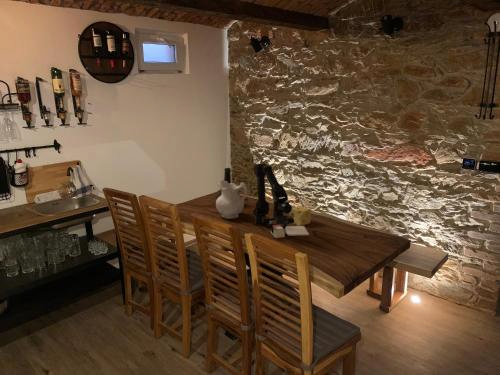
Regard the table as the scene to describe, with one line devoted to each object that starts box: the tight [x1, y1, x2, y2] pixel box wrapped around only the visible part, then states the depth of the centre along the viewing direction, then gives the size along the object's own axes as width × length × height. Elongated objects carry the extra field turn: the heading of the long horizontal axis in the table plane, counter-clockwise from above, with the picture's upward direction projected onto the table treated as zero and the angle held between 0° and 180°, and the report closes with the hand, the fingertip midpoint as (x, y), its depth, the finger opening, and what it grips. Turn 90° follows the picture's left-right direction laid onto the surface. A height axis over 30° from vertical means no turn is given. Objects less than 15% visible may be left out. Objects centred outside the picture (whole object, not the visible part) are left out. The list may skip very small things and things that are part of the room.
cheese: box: [288, 205, 312, 226], centre depth 257 cm, size 10×11×10 cm
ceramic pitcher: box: [215, 179, 248, 220], centre depth 267 cm, size 22×20×25 cm
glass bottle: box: [215, 167, 240, 201], centre depth 291 cm, size 18×18×28 cm
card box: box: [270, 224, 286, 239], centre depth 237 cm, size 8×6×5 cm, turn 16°
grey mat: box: [285, 225, 310, 237], centre depth 243 cm, size 13×14×1 cm
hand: (277, 233), depth 237 cm, fingers closed on card box, 6 cm apart
